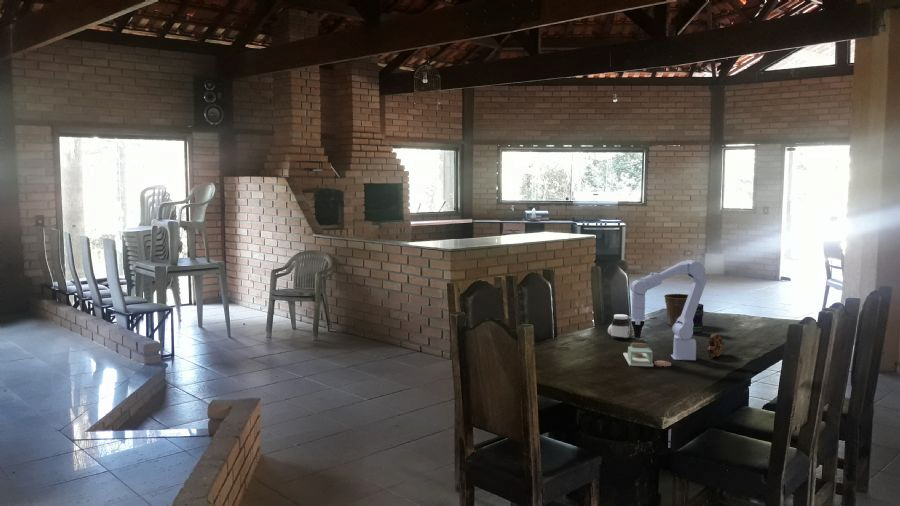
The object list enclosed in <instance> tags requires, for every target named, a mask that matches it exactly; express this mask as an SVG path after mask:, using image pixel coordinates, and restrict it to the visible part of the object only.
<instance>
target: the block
mask: <svg viewBox="0 0 900 506" xmlns="http://www.w3.org/2000/svg"><path fill="white" fill-rule="evenodd" d="M630 347H632V344H631V345H630ZM632 357H634V358H643V356H642V353H632Z"/></svg>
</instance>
